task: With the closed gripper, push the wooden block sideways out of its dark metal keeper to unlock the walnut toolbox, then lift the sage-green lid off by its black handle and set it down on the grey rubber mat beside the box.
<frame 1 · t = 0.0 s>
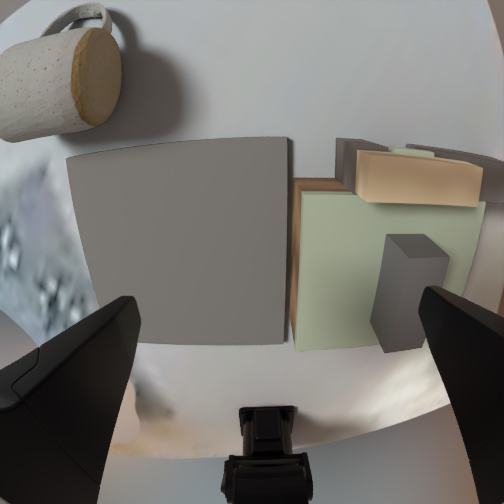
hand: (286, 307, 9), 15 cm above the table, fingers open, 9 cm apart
toolbox lid: (392, 274, 21), point 4 cm above the table, touching toolbox
toolbox: (374, 250, 24), on the table
wooden block: (423, 178, 15), point 6 cm above the table, slide at 0.0 cm
rubber mat: (178, 255, 24), on the table
ceramic mug: (80, 69, 18), on the table
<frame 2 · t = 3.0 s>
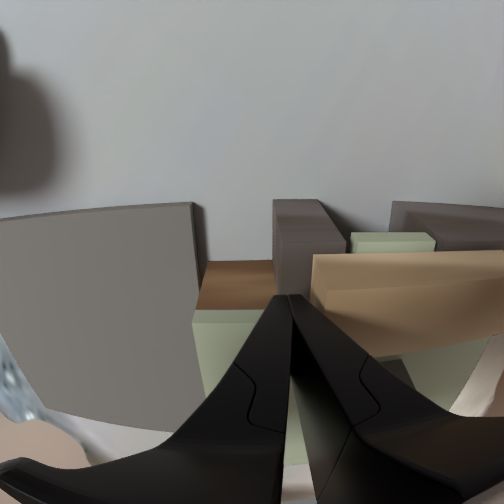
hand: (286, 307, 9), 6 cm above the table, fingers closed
toolbox lid: (350, 398, 14), point 4 cm above the table, touching toolbox
toolbox: (335, 347, 17), on the table
wooden block: (432, 299, 9), point 6 cm above the table, slide at 1.0 cm, touching gripper
rubber mat: (85, 343, 18), on the table
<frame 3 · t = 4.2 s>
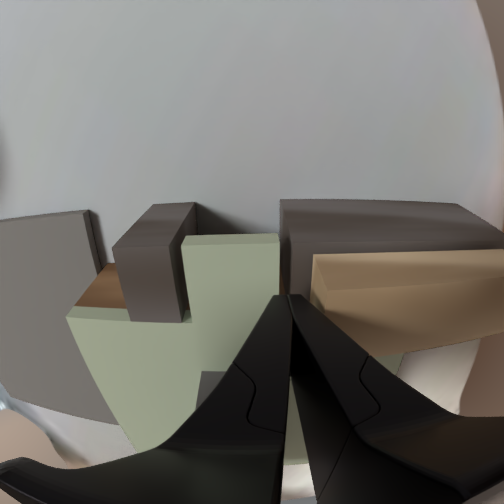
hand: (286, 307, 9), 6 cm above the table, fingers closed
toolbox lid: (243, 405, 14), point 4 cm above the table, touching toolbox
toolbox: (244, 351, 17), on the table
wooden block: (432, 299, 9), point 6 cm above the table, slide at 6.5 cm, touching gripper
rubber mat: (30, 335, 18), on the table
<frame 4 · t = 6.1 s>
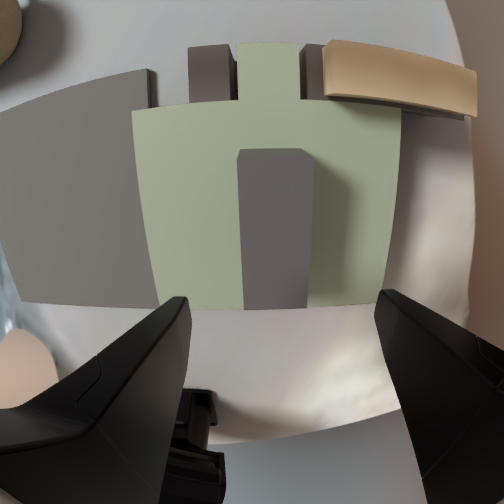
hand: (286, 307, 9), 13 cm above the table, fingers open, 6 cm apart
toolbox lid: (270, 210, 17), point 4 cm above the table, touching toolbox
toolbox: (267, 191, 21), on the table
wooden block: (405, 79, 12), point 6 cm above the table, slide at 6.6 cm
rubber mat: (62, 206, 21), on the table
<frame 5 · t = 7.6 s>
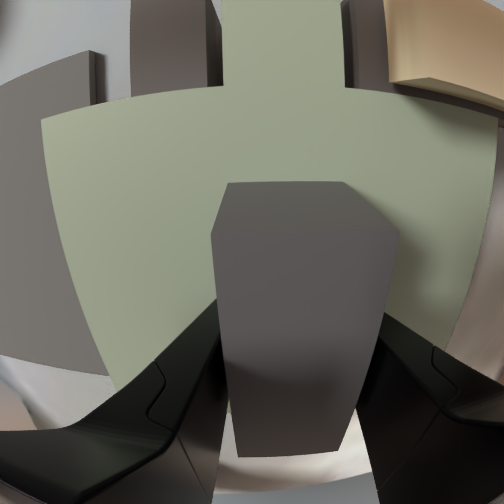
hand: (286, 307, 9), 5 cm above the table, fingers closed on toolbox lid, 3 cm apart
toolbox lid: (282, 283, 10), point 4 cm above the table, touching gripper, toolbox
toolbox: (274, 235, 14), on the table
rubber mat: (1, 247, 14), on the table
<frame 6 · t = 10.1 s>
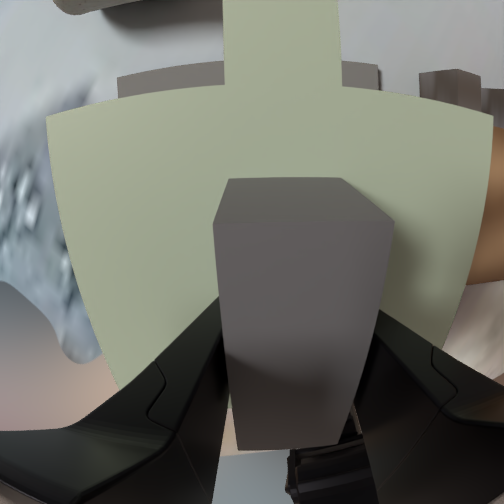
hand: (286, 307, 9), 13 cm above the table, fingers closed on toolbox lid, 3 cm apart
toolbox lid: (282, 278, 10), point 11 cm above the table, touching gripper
toolbox: (454, 194, 20), on the table
rubber mat: (253, 193, 21), on the table
when the fingers open (4 cm above the table, at t = 12.2 s): toolbox lid drops 1 cm, resting on rubber mat.
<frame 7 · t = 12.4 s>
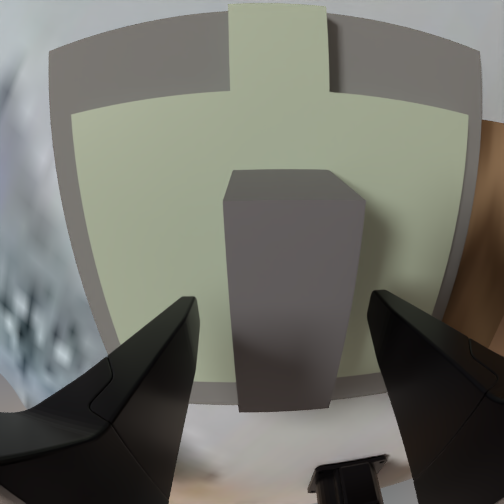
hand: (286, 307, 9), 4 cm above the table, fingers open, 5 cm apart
toolbox lid: (278, 258, 12), point 1 cm above the table, touching rubber mat
rubber mat: (276, 250, 12), on the table
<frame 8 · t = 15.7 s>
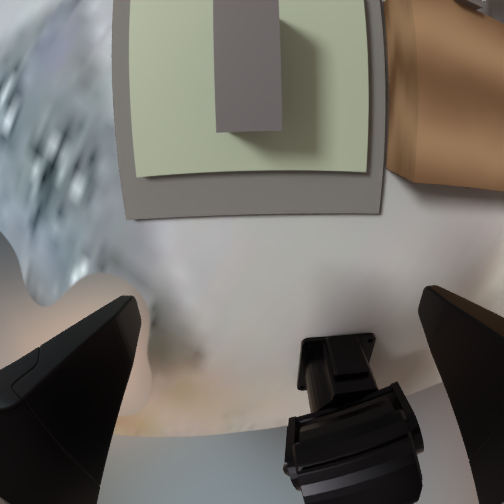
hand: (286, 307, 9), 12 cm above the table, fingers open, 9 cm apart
toolbox lid: (248, 71, 16), point 1 cm above the table, touching rubber mat
toolbox: (468, 99, 16), on the table
rubber mat: (248, 72, 16), on the table
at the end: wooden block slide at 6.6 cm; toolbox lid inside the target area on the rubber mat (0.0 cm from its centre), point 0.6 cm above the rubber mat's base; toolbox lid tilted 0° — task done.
